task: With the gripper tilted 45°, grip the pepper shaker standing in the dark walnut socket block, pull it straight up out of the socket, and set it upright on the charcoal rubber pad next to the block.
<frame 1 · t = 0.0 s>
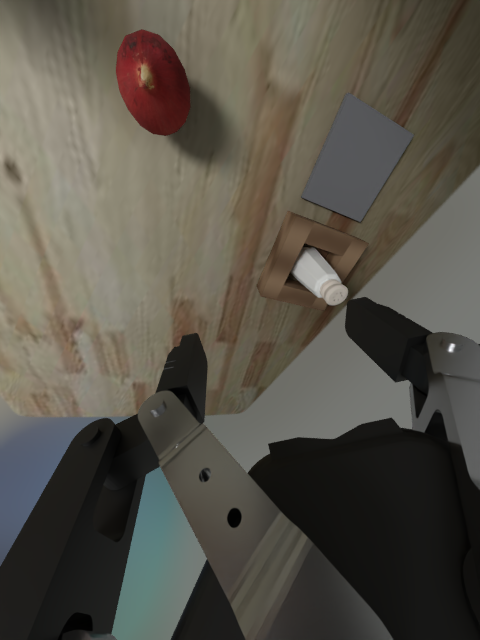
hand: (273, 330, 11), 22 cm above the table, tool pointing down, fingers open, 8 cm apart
onion: (163, 101, 20), on the table
rubber pad: (352, 167, 26), on the table
socket block: (303, 262, 33), on the table
pepper shaker: (302, 261, 33), resting in socket block
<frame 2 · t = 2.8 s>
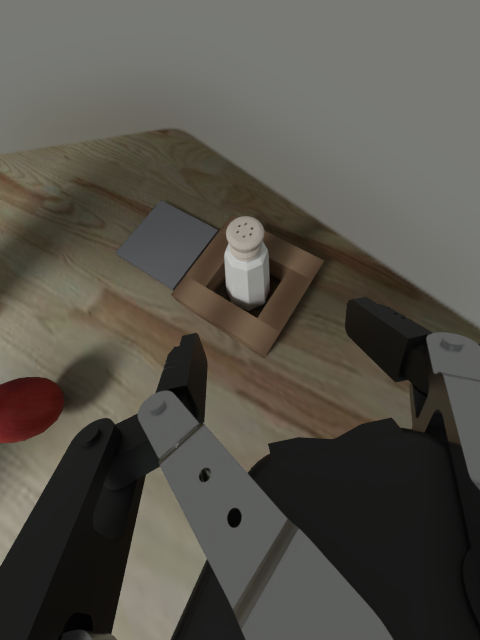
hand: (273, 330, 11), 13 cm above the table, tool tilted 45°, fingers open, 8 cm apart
onion: (61, 402, 23), on the table
rubber pad: (168, 244, 27), on the table
socket block: (248, 290, 25), on the table
pepper shaker: (248, 291, 25), resting in socket block
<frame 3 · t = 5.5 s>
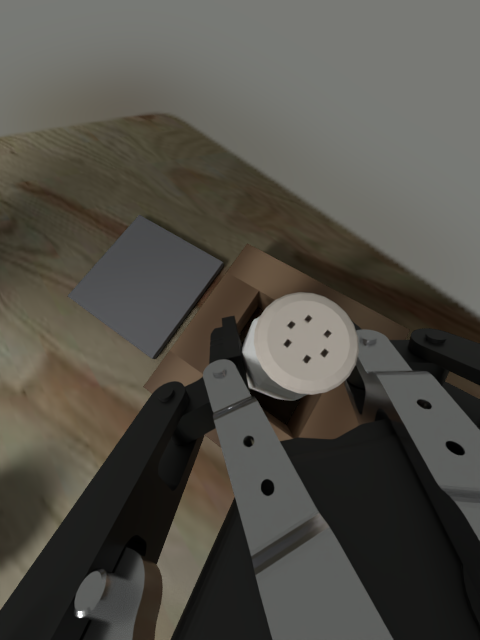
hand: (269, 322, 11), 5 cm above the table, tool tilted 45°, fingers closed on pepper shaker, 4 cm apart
rubber pad: (148, 282, 18), on the table
socket block: (271, 361, 16), on the table
pepper shaker: (270, 361, 16), resting in socket block, touching gripper
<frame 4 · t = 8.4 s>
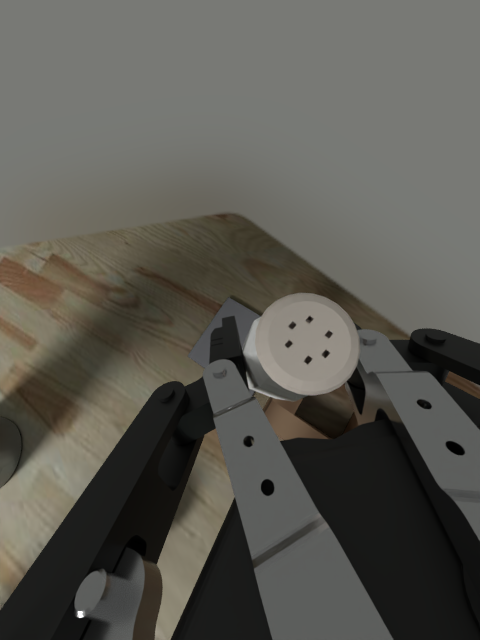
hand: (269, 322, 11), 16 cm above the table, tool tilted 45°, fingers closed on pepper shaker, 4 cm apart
rubber pad: (238, 345, 28), on the table
socket block: (325, 401, 25), on the table
pepper shaker: (271, 361, 16), point 11 cm above the table, touching gripper
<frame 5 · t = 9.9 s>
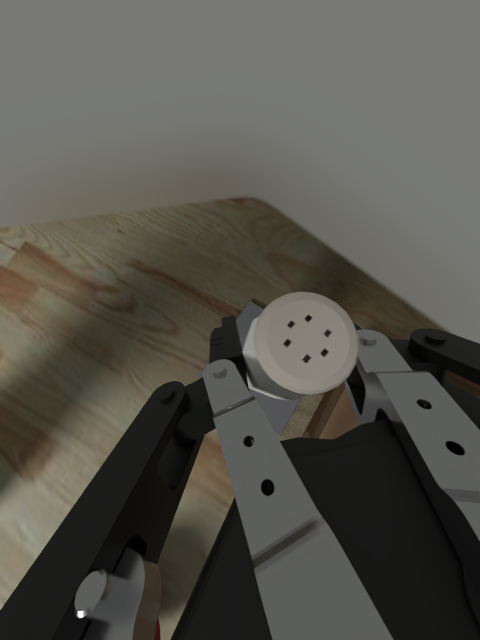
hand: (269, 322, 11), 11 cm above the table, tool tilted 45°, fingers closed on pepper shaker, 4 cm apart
rubber pad: (263, 362, 22), on the table
socket block: (377, 437, 20), on the table
pepper shaker: (270, 361, 16), point 6 cm above the table, touching gripper
when the fingers open (6 cm above the table, at t = 11.1 s): pepper shaker stays where it is, resting on rubber pad.
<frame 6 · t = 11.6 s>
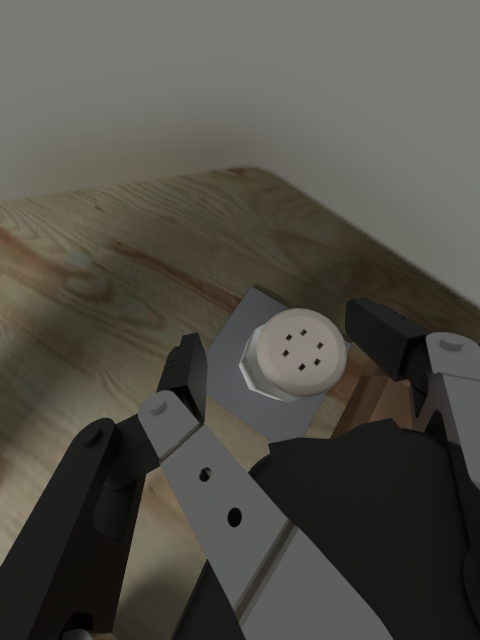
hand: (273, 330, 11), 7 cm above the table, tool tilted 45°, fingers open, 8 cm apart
rubber pad: (268, 362, 17), on the table
socket block: (419, 459, 15), on the table
pepper shaker: (270, 364, 17), resting on rubber pad
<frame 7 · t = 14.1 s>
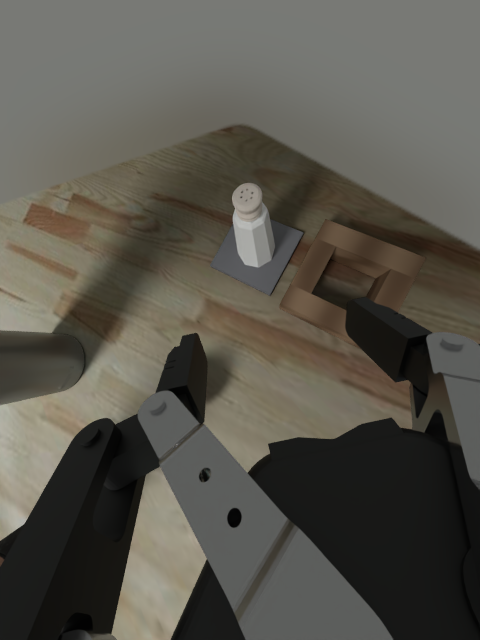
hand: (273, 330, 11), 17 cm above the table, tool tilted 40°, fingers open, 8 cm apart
rubber pad: (255, 251, 30), on the table
socket block: (340, 289, 27), on the table
travel mug: (71, 521, 30), on the table
pepper shaker: (256, 250, 29), resting on rubber pad
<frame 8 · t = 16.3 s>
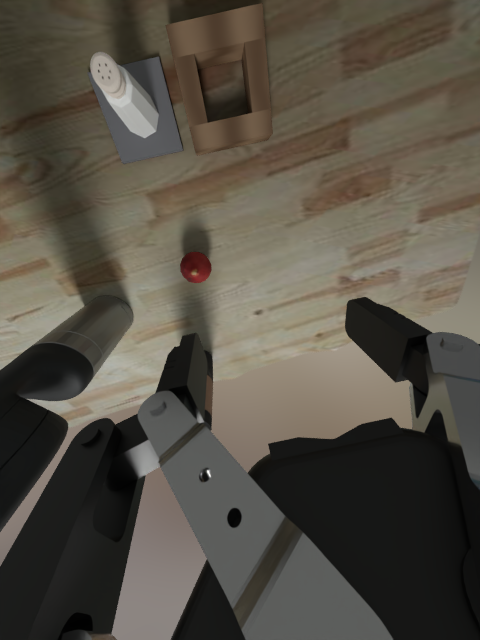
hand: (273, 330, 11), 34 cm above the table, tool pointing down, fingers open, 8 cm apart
onion: (197, 262, 42), on the table
rubber pad: (140, 116, 30), on the table
socket block: (224, 97, 30), on the table
travel mug: (199, 359, 55), on the table
pepper shaker: (140, 115, 30), resting on rubber pad
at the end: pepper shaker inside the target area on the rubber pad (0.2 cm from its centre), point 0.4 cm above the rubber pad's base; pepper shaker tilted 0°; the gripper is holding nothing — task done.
